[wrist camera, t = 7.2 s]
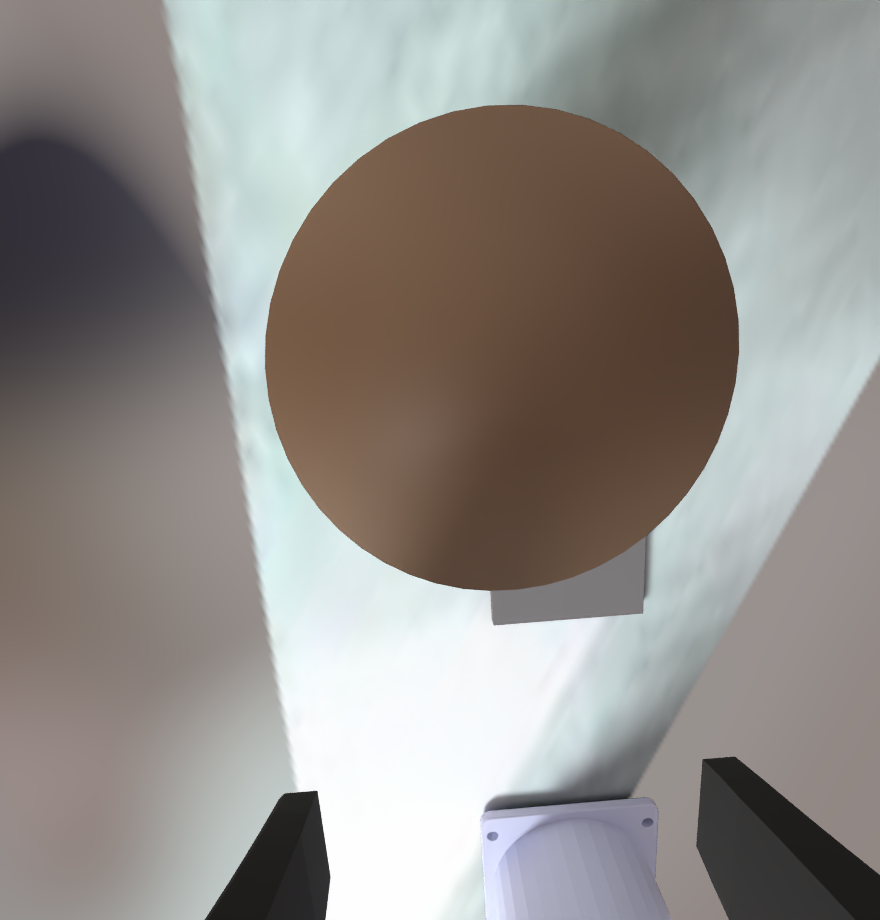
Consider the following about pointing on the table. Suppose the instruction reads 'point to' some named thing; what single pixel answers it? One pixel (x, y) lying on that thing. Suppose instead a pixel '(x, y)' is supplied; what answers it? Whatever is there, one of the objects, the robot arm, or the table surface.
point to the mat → (579, 593)
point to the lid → (502, 347)
